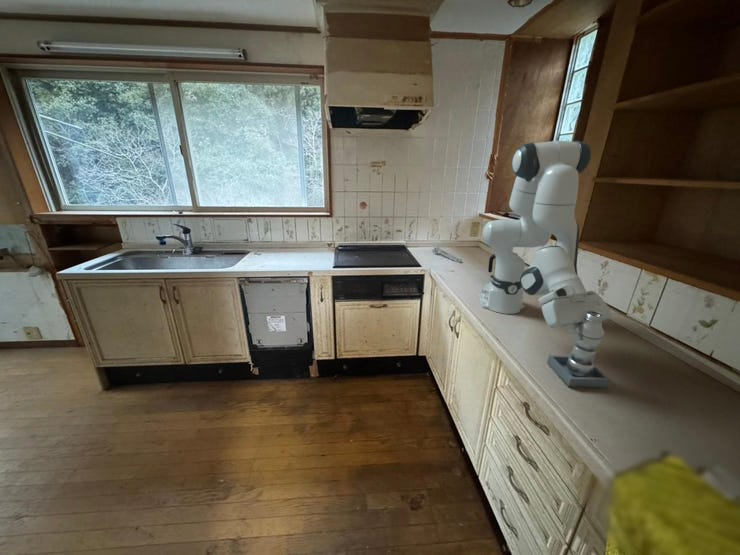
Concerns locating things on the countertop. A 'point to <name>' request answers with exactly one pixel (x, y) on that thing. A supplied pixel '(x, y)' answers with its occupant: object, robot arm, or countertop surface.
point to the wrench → (444, 253)
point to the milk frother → (492, 263)
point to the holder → (572, 381)
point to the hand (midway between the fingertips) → (589, 338)
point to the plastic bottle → (586, 345)
